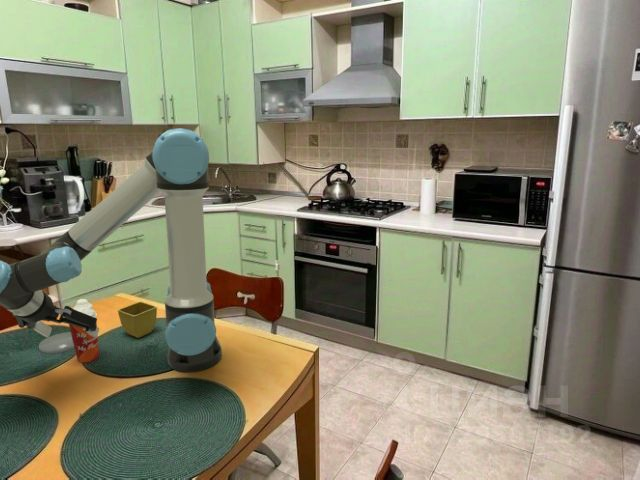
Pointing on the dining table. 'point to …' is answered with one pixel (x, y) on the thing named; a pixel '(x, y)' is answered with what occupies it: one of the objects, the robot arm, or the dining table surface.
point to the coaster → (57, 343)
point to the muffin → (82, 305)
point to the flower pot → (138, 318)
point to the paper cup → (85, 341)
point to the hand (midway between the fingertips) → (73, 332)
